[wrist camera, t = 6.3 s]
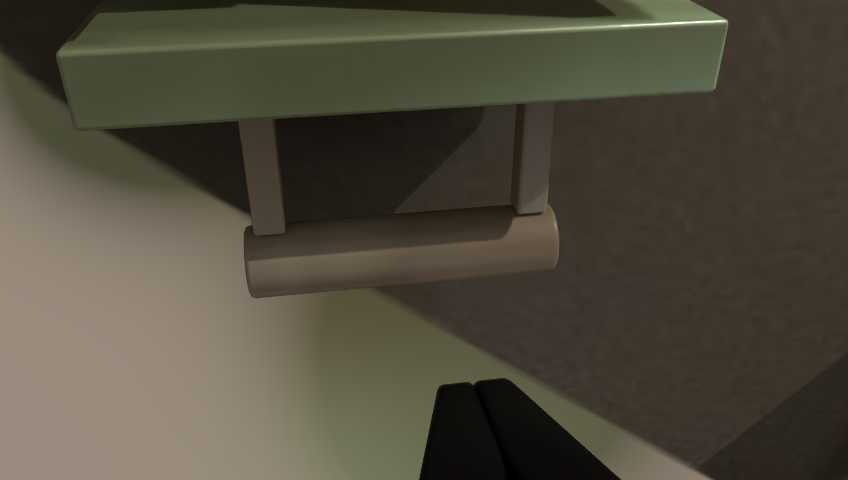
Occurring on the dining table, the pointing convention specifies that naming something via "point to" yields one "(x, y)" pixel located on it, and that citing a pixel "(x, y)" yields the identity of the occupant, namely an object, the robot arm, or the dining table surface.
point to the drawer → (382, 106)
